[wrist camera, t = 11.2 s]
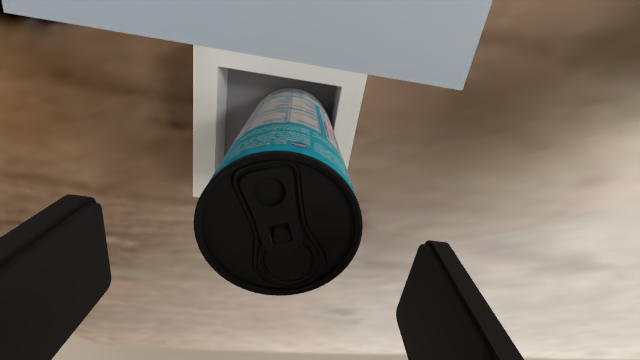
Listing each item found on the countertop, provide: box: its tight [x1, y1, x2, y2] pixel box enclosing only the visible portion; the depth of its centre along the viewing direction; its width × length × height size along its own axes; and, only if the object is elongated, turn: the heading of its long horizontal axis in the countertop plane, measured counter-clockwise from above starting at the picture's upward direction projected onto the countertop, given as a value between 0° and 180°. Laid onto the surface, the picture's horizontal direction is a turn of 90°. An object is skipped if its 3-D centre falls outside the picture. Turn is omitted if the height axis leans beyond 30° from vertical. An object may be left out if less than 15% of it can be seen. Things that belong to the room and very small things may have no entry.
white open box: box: [2, 0, 493, 197], centre depth 15 cm, size 11×18×18 cm, turn 171°
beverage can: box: [194, 88, 363, 296], centre depth 18 cm, size 6×6×15 cm
